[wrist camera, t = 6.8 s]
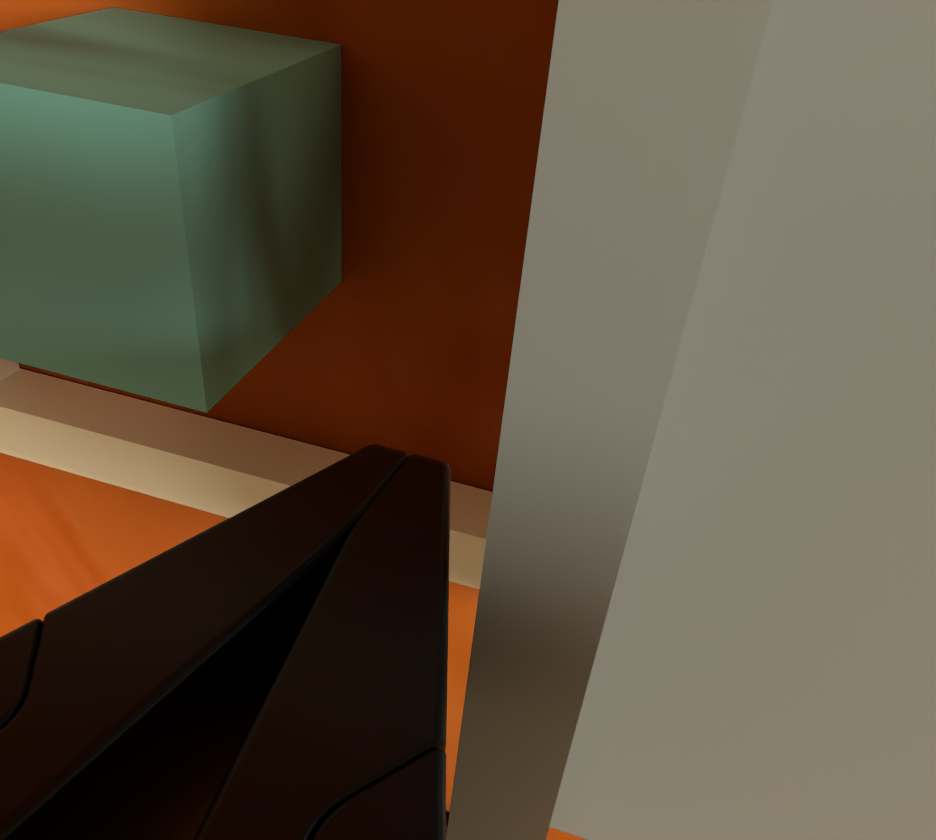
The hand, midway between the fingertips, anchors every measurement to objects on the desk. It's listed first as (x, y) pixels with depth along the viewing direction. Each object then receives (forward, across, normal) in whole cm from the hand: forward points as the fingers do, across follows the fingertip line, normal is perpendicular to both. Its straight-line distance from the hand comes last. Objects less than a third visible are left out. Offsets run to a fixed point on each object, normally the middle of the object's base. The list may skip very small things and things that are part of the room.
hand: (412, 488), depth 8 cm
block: (+8, +6, 0) cm, 10 cm away
